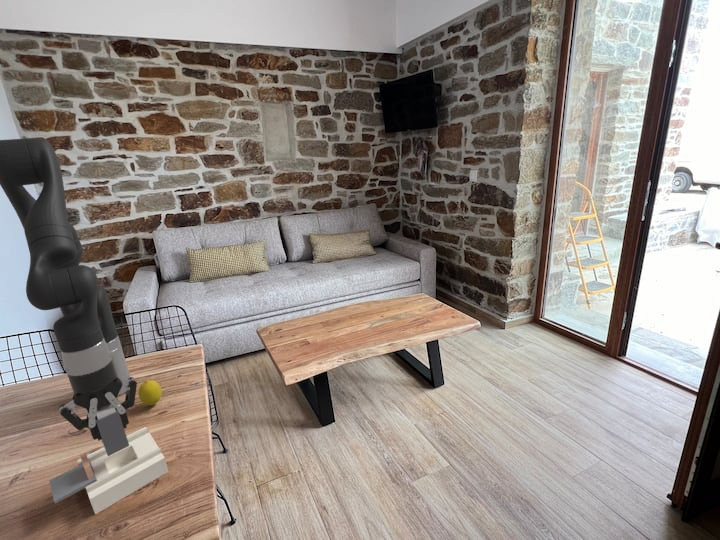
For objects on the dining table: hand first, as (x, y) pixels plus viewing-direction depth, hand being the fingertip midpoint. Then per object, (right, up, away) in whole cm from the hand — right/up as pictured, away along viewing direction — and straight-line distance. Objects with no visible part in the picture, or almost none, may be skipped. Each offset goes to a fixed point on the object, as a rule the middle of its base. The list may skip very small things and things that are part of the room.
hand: (111, 432), depth 80 cm
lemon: (-5, -4, +26) cm, 27 cm away
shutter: (-6, -9, -3) cm, 11 cm away
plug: (0, -4, +1) cm, 4 cm away
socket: (+1, -11, +4) cm, 11 cm away
